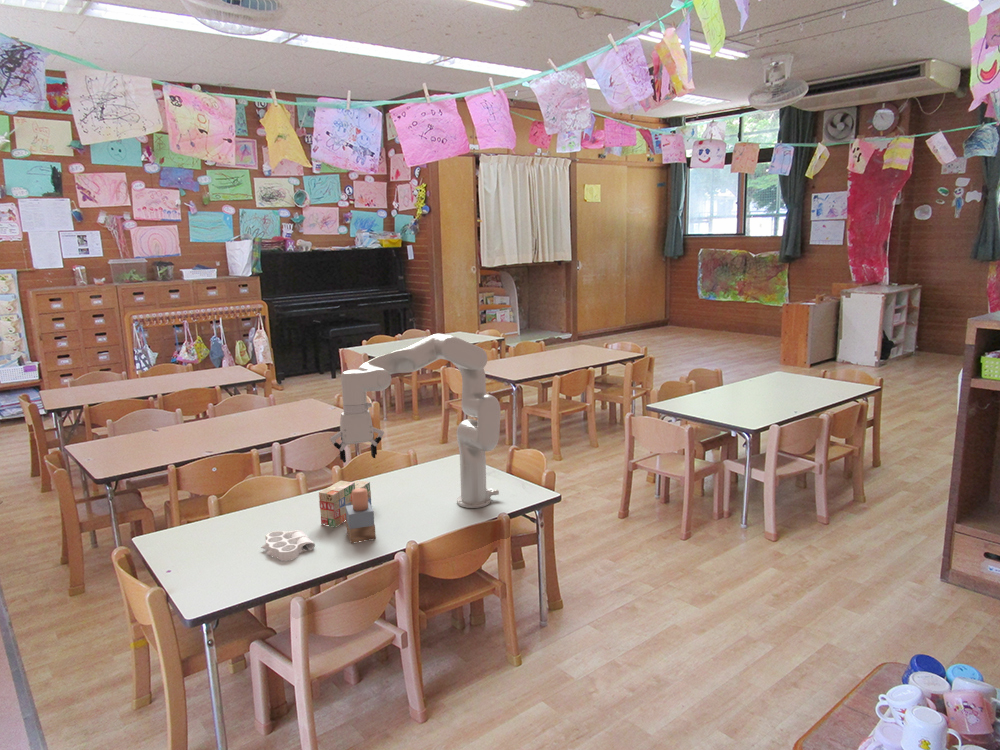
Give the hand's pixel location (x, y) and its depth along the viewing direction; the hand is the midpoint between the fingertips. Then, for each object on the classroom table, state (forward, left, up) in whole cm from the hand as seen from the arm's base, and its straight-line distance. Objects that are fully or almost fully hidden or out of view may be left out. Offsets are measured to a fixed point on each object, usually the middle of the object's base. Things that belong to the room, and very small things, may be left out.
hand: (358, 459), depth 227 cm
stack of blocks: (+2, -20, -27) cm, 34 cm away
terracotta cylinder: (0, 0, -17) cm, 17 cm away
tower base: (+1, 0, -27) cm, 27 cm away
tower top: (+1, 0, -22) cm, 22 cm away
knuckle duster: (+25, -1, -28) cm, 37 cm away
